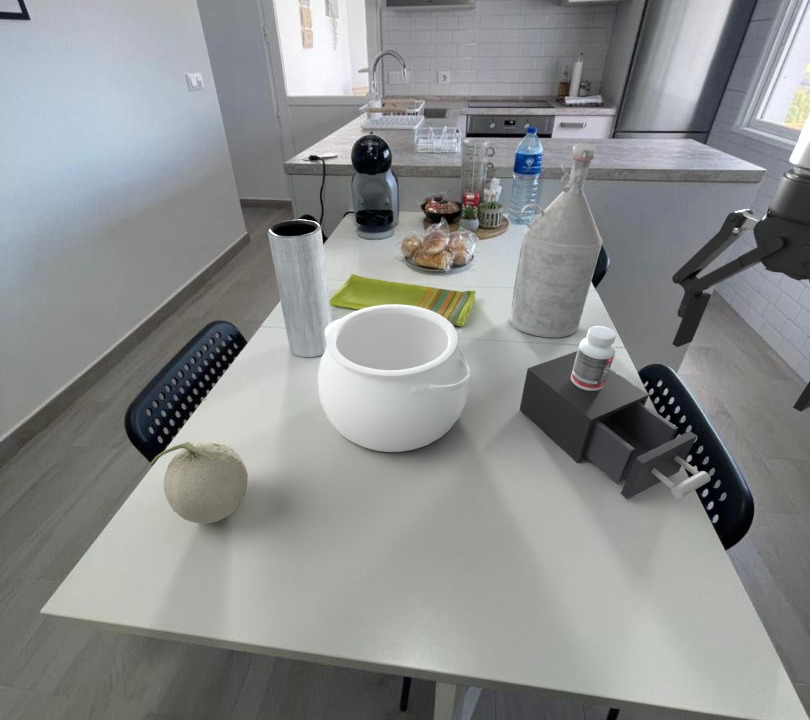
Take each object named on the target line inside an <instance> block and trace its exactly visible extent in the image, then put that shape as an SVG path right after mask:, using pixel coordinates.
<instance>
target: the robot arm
mask: <svg viewBox="0 0 810 720" xmlns="http://www.w3.org/2000/svg"><path fill="white" fill-rule="evenodd" d="M788 162H789V164H790V165H791V166H793V168H791V169H788V170H786V172H784V173H782V175H781V177H780V180H779V182H778V184H777V186H776V189H775V190H774V193H773V195H772V198H771V199H770V202H769V204H768V208H767V211H766V213H765V215H764V216H763V217H759V216H756V215H754V212H753V210H752V209H750V208H746V209H741V210H737V211H732V212H730V213H728V215H726V217H725V220H724V221H723V224H722V226H721V227H720V229H719V230H718V232H717V233H715V235H714V236H713V237H712V238H711V239H709V240H708V241H707V242H706V243H705V244H704V245H703V246H702V247H701V248H700V249H699V250H698V251H697V252H696V253H695V254H694V255H693V256H692V257H691V258H690V259H689V260H687V261H686V262H685V263H684V265H682V266H681V268H679V269H678V270H676V272H675V273H674V274H673V275H672V278H671V280H672V282H673V283H674V284H676V285H679V286H680V287H682V288H683V291H684V293H683V297H682V299H681V302H680V304H679V307H678V309H677V317H679V318H681V320H680V324H679V326H678V328H677V330H676V333H675V336H674V339H673V341H672V345H673V346H674V347H676V348H680V347H682V346H685V345H688V344H690V343H692V342H693V340H694V337H695V336H696V334H697V330H698V328H699V325H700V323H701V320H702V318H703V316H704V314H705V311H706V310H707V308H708V304H709V302H710V299H711V297H712V293H708V292H706V290H708V289H710V288H711V287H714V286H715V285H717V284H719V283H722V282H723V281H726V280H728V279H730V278H732V277H734V276H736V275H738V274H740V273H742V272H744V271H746V270H747V269H750V268H752V267H754V266H756V265H759V264H760V263H761V264H762V265H763V267H765V268H764V270H766V271H769V272H772V273H781V274H784V275H786V276H787V277H788V278H790V279H793V280H796V281H799V282H800V281H802V280H803V281H806V280H808V281H809V283H810V115H809V116H808V118H807V120H806V122H805V125H804V127H803V129H802V131H801V132H800V135H799V137H798V139H797V141H796V144H795V145H794V148H793V150H792V152H791V155H790V157H789V159H788ZM751 231H753V236H754V241H755V245H756V247H754V248H753V249H750V250H749V251H747V252H745V253H743V254H742V255H740V256H738V257H737V258H735V259H734V260H731V261H729V262H728V263H726V264H724V265H722V266H720V267H718V268H716V269H714V270H712V271H711V272H709V273H707V274H705V275H702V276H701V277H699V278H698V275H700V274H701V273H702V272H703V270H705V269H706V268H707V267H708V266H710V264H711V263H713V262H714V261H715V260H716V259H717V258H719V256H720V255H721V254H722V253H724V252H725V251H727V249H728V248H729V247H730V246H731V245H733V244H734V243H735V242H736V241H737V240H738V239H739V238H740V237H741V236H743V235H747V234H749V233H750V232H751ZM792 408H793V409H794V410H796V411H798V412H801V413H802V412H803V411H805V410H807V409H809V408H810V380H808V382H807V384H806V386H805V388H803V391H802V392H801V394H800V395H799V397H798V398H797V400H796V401H795V403H794V404H793V406H792Z"/></svg>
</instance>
